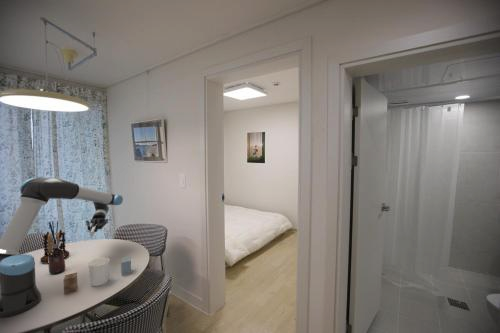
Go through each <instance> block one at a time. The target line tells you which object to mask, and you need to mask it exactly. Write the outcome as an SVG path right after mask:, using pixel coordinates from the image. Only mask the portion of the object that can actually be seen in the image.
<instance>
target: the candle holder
mask: <svg viewBox="0 0 500 333" xmlns="http://www.w3.org/2000/svg"><path fill="white" fill-rule="evenodd" d="M110 260H111V259H110V258H109V257H100V258H99V257H98V258H95V259H93V260H91V261H90V262H88V270H89V279H90V280H89V281H90V285H91V287H99V286H102V285H106V283H108V282H109V280H110V278H109V277H110Z"/></svg>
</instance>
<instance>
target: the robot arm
mask: <svg viewBox="0 0 500 333" xmlns="http://www.w3.org/2000/svg"><path fill="white" fill-rule="evenodd" d="M19 191H20V194H21V195H20V197H19V199H20V201H21V202H20V204H19V206H18V208H16V211H15V213H14V214H13V216H12V217H11V220H10V221H9V223H8V225H7V227H6V228H5V231H4V232H3V234H2V235H1V237H0V318H7V317H8V318H9V317H12V316H16V315H19V314H22V313H23V312H27V311H28V310H30V309H33V308H34V307H36V306H37V305H38V304H40V302H41V300H42V293H41V291H40V290H39V288H38V287H37V285H36V284H37V283H36V262H35V257H34V256H33V255H31V254H28V253H26V254H24V253H23V254H21V252H20V248H21V246H22V244H23V243H24V242H25V239H26V237H27V235H28V234H29V231H30V230H31V227H32V226H33V224H34V222H35V219H36V218H37V216H38V214H39V212H40V210H41V208H42V207H43V206H45V205H47V204H48V202H49V201H50V199H51V200H52V199H54V200H55V199H63V200H65V199H66V200H74V199H75V200H80V201H81V200H82V201H88V202H92V203H93V205H94V210H95V212H94V214H93V216H92V218H91V219H90V220H85V225H86V227H87V231H89V234H90V237H93V236H94V235H95V233H97V232H98V231H99V230H102V229H103V228H104V226H105V225H107V224H108V223H109V219H108V218H106V217H107V214H108V213H109V210H110V207H109V206H120V205H121V204H122V203H123V200H124V198H123V196H122V194H114V193H109V192H106V191H103V190H96V189H92V188H88V187H85V186H84V187H83V186H80V185H79V184H77V183H75V182H71V181H68V180H65V179H61V178H56V177H41V176H40V177H32V178H28V179H27V180H25V181H23V183H22V184H21V185H20V187H19Z"/></svg>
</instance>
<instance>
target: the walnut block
mask: <svg viewBox="0 0 500 333" xmlns="http://www.w3.org/2000/svg"><path fill="white" fill-rule="evenodd" d="M77 291H78V272H73V273H69V274H65V275H64V277H63V295H68V294H71V293H74V292H77Z"/></svg>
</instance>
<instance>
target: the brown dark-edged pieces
mask: <svg viewBox="0 0 500 333" xmlns="http://www.w3.org/2000/svg"><path fill="white" fill-rule="evenodd" d="M54 233H55V235H56V239H57V243H58V244H59V248H60V249H62V250H63V251H64V256H65V258H67V257H69V255H70V251H68V250H66V237H65V234H66V232H64V231H62V229H60V230H59V232H54ZM42 237H43V243H42V244H43V246H44V247H43V251H44V255H43V256H42V257H40V262H41V263H42V264H43V265H45V263H49V262H48V254H49V253H50V252H51V251H52V250H53V248H52V246H53V244H54V241H53V237H52V233H50V232H49V231H47V232H46V234H44V235H43V236H42Z"/></svg>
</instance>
